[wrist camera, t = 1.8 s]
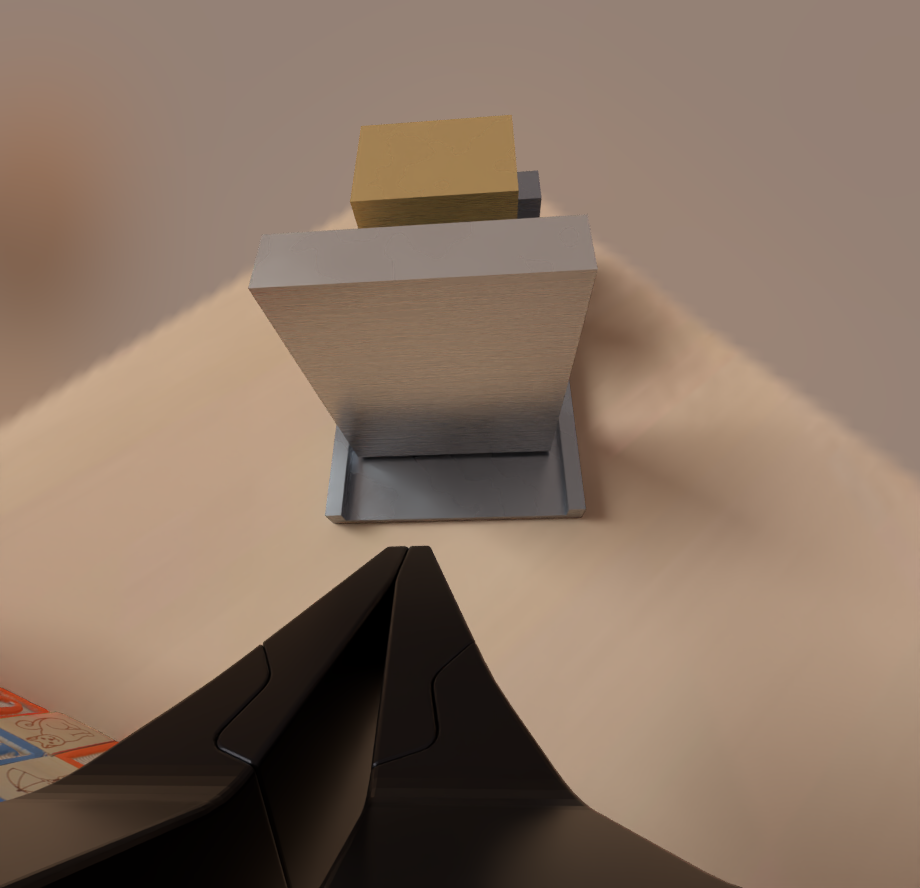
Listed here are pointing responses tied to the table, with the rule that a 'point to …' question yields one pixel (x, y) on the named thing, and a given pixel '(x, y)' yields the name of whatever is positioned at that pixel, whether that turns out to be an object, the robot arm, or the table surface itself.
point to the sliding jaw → (434, 328)
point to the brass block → (435, 173)
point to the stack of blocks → (41, 746)
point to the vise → (463, 467)
